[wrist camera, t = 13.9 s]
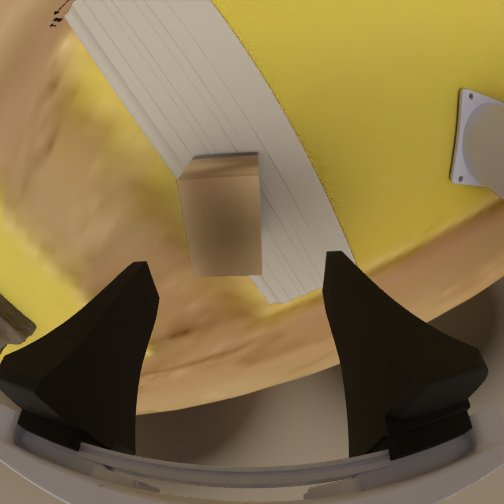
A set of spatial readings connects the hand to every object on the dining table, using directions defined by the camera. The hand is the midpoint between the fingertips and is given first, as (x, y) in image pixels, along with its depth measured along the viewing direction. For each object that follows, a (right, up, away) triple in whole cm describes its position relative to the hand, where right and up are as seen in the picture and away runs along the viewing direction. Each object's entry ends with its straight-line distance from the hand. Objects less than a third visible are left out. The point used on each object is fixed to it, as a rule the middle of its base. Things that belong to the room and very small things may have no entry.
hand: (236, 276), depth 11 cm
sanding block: (-1, +5, +7) cm, 9 cm away
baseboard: (-2, +9, +7) cm, 12 cm away
